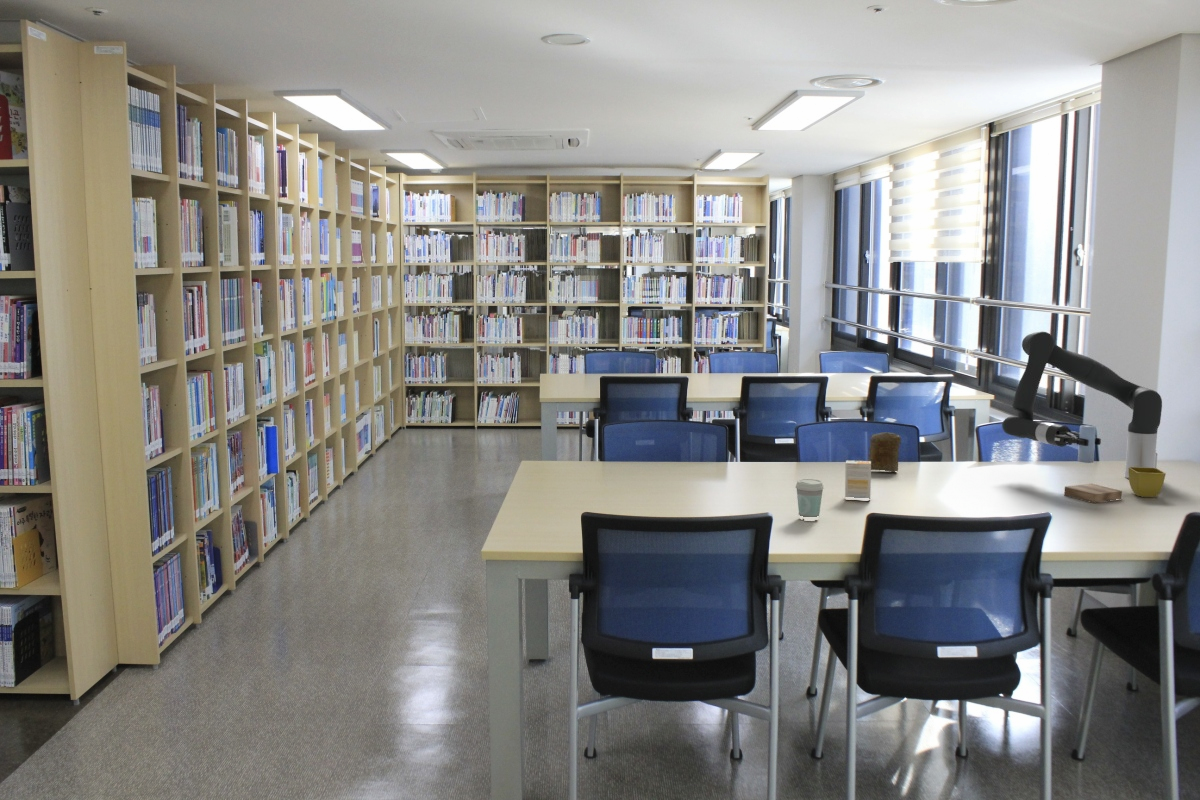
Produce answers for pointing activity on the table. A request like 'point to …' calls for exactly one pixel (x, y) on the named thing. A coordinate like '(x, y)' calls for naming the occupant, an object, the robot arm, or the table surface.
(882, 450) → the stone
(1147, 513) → the table surface
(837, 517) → the table surface
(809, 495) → the coffee cup
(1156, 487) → the flower pot
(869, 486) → the supplement box
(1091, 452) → the pale blue tumbler
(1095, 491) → the stand
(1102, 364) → the robot arm
